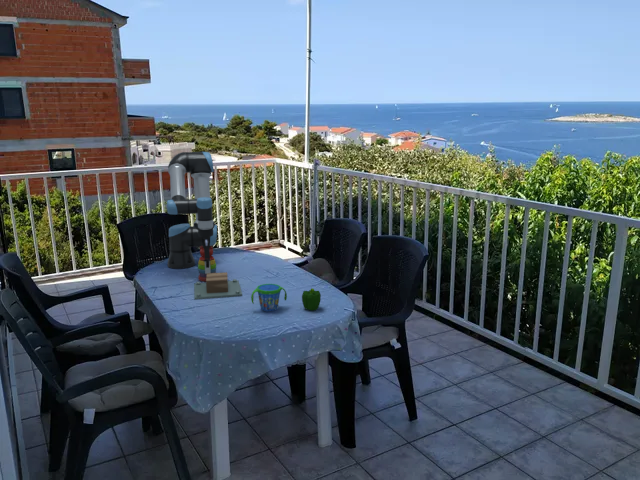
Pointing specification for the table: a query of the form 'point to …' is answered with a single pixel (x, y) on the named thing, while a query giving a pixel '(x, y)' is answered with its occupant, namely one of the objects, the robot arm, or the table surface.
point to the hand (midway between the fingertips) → (207, 270)
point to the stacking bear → (201, 264)
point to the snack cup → (268, 296)
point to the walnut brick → (217, 282)
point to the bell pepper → (311, 299)
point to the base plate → (201, 293)
